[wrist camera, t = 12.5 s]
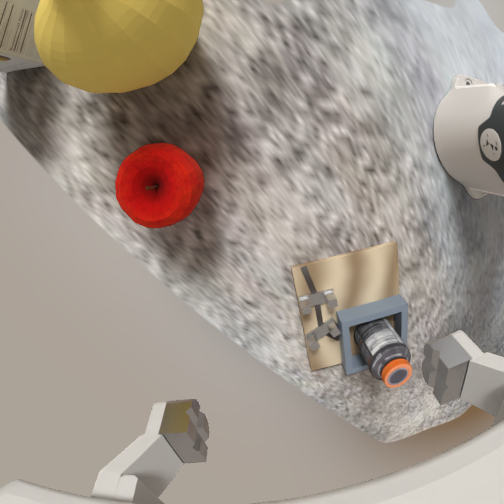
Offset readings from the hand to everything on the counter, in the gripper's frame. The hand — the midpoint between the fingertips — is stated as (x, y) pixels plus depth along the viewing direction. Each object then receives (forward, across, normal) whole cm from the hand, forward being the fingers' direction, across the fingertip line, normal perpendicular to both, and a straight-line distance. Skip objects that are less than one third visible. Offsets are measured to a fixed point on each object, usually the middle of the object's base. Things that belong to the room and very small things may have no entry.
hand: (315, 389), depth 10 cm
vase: (+31, +9, -24) cm, 40 cm away
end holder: (+31, -12, +22) cm, 40 cm away
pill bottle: (+30, -12, +22) cm, 39 cm away
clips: (+30, -4, +17) cm, 35 cm away
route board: (+31, -9, +18) cm, 37 cm away
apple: (+31, +10, -6) cm, 34 cm away
